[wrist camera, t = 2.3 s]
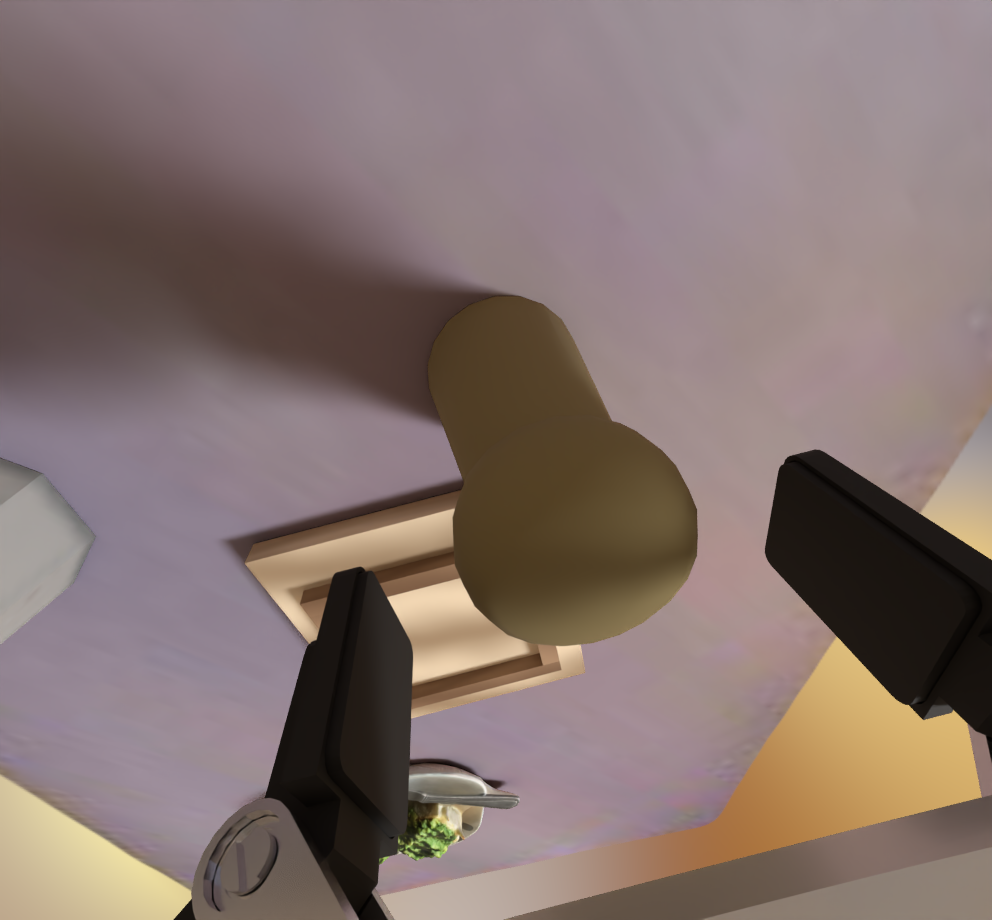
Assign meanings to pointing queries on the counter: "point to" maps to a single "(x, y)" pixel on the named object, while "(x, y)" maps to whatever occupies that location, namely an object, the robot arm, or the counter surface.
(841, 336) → the counter surface
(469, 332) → the cork
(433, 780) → the salad plate
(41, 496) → the coffee maker
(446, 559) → the maple board
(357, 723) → the robot arm
